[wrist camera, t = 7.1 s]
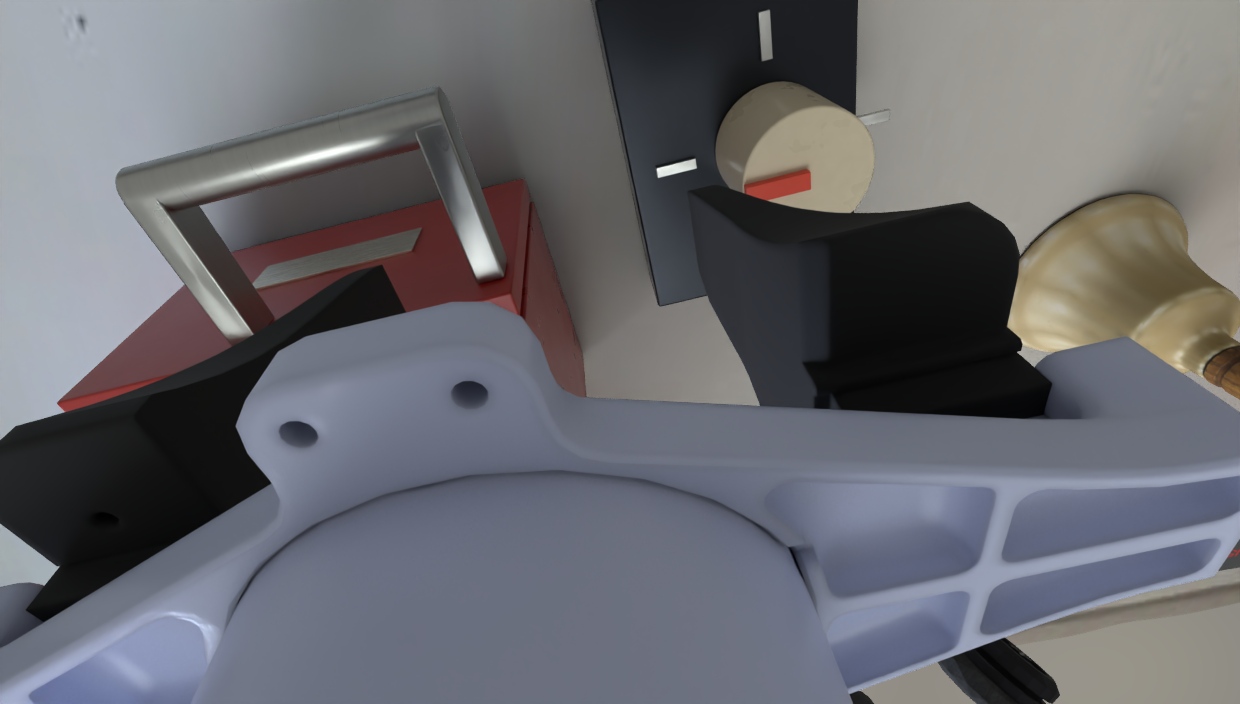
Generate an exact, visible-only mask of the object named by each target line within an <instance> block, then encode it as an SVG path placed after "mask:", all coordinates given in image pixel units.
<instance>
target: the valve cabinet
mask: <svg viewBox="0 0 1240 704" xmlns="http://www.w3.org/2000/svg"><path fill="white" fill-rule="evenodd" d="M520 316H521V317H522V318H523V319H524V321H525V322H526V323H527V325H528V326H529V328H530V329H531V330H532V332H533V333H534V334H535V336H536V337H537V338H538V340H539V341H540V343H541V346H542V348H543V351H544V354H545V357H546V360H547V362H548V365H549V368H550V371H551V373H552V375H553V376H554V378H555V380H556V382H557V384H558V385H559V386H560V387H561V388H562V389H563V390H565V391H567V392H569V393H571V394H573V395H576V396H578V397H586V386H585V373H584V361H583V355H582V352H581V349H580V346H579V343H578V339H577V336H576V333H575V330H574V327H573V324H572V321H571V318H570V314H569V311H568V308H567V305H566V302H565V299H564V296H563V293H562V289H561V286H560V283H559V280H558V277H557V274H556V271H555V268H554V264H553V261H552V258H551V255H550V252H549V249H548V246H547V243H546V239H545V236H544V233H543V230H542V227H541V224H540V221H539V218H538V215H537V211H536V208H535V205H534V203H533V202H530V204H529V216H528V227H527V239H526V251H525V262H524V274H523V285H522V297H521V309H520Z"/></svg>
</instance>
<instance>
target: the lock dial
mask: <svg viewBox="0 0 1240 704" xmlns="http://www.w3.org/2000/svg"><path fill="white" fill-rule="evenodd" d="M715 153H716V162H717V167H718V169H719V172H720V174H721V176H722V178H723V180H724V181H725V183H726V184H727V185H728V187H729V188H730V189H733V190H736V191H739V192H742V193H745V194H748V195H751V196H754V197H757V198H760V199H763V200H767V201H770V202H774V203H778V204H782V205H787V206H791V207H796V208H801V209H808V210H816V211H824V212H836V213H851V212H852V211H853V210H854V209H855V208H856V207H857V205H858V204H859V203H860V201H861V200H862V198H863V196H864V195H865V193H866V191H867V189H868V187H869V184H870V181H871V179H872V175H873V170H874V162H875V154H874V146H873V141H872V139H871V136H870V133H869V131H868V130H867V128H866V126H865V125H864V124H863V122H862V121H861V120H860V119H859V118H858V117H857V116H855V115H854V114H852V113H851V112H849V111H847V110H846V109H844V108H842V107H840V106H839V105H837V104H835V103H833V102H831V101H830V100H828V99H826V98H824V97H822V96H821V95H819V94H817V93H815V92H813V91H812V90H810V89H808V88H806V87H804V86H802V85H800V84H796V83H793V82H784V81H783V82H772V83H768V84H765V85H762V86H759V87H757V88H755V89H753V90H751V91H750V92H748V93H747V94H745V95H744V96H743V97H742V98H740V99H739V100H738V101H737V102H736V103H735V104H734V105H733V106H732V108H731V109H730V110H729V112H728V113H727V115H726V116H725V118H724V120H723V122H722V124H721V126H720V129H719V132H718V135H717V140H716V149H715Z"/></svg>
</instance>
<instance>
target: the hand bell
mask: <svg viewBox="0 0 1240 704" xmlns="http://www.w3.org/2000/svg"><path fill="white" fill-rule="evenodd" d="M1187 250H1188V232H1187V229H1186V226H1185V223H1184V221H1183V219H1182V217H1181V215H1180V214H1179V212H1178V211H1177V209H1176V208H1175V207H1174V206H1172V205H1171V204H1170V203H1168V202H1167V201H1165V200H1163V199H1161V198H1158V197H1156V196H1151V195H1143V194H1126V195H1120V196H1114V197H1109V198H1106V199H1103V200H1099V201H1097V202H1094V203H1092V204H1090V205H1087V206H1085V207H1083V208H1081V209H1079V210H1077V211H1075V212H1074V213H1072V214H1070V215H1069V216H1067V217H1066V218H1064V219H1062V220H1061V221H1059V222H1058V223H1057V224H1055V225H1054V226H1052V227H1051V228H1050V229H1048V230H1047V231H1046V232H1045V233H1044V234H1043V235H1041V236H1040V237H1039V238H1038V239H1037V240H1036V241H1035V242H1034V243H1033V244H1032V245H1031V246H1030V247H1029V249H1028V250H1027V251H1026V252H1025V254H1024V255H1023V256H1022V257H1021V259H1020V260H1019V274H1018V279H1017V283H1016V288H1015V292H1014V297H1013V302H1012V306H1011V311H1010V315H1009V320H1008V325H1007V327H1008V328H1009V329H1010V330H1011V331H1013V332H1014V333H1015V334H1016V335H1017V336H1019V337H1020V338H1021V341H1022V345H1024V346H1026V347H1029V348H1032V349H1036V350H1041V351H1048V352H1057V351H1061V350H1066V349H1070V348H1075V347H1079V346H1084V345H1088V344H1093V343H1097V342H1102V341H1106V340H1111V339H1115V338H1119V337H1129V338H1131V339H1132V340H1134V341H1135V342H1137V343H1138V344H1140V345H1141V346H1143V347H1144V348H1146V349H1147V350H1149V351H1150V352H1152V353H1153V354H1155V355H1156V356H1157V357H1159V358H1160V359H1162V360H1163V361H1165V362H1166V363H1168V364H1169V365H1171V366H1172V367H1174V368H1175V369H1177V370H1178V371H1180V372H1181V373H1183V374H1184V373H1186V372H1189V371H1192V372H1193V373H1195V374H1197V375H1198V376H1200V377H1202V378H1205V379H1206V380H1207V381H1208V382H1210V383H1212V384H1214V385H1215V386H1218V387H1222V388H1223V389H1224V390H1225V391H1226V392H1228V393H1229V394H1231V395H1233V396H1235V397H1236V398H1238V399H1240V343H1239V342H1238V341H1236V340H1234V339H1233V336H1234V335H1235V333H1236V332H1237V330H1238V328H1239V326H1240V301H1239V299H1238V297H1237V296H1236V295H1235V294H1234V293H1233V292H1232V291H1230V290H1229V289H1227V288H1226V287H1224V286H1223V285H1221V284H1220V283H1218V282H1217V281H1215V280H1213V279H1212V278H1211V277H1210V276H1208V275H1207V274H1206V273H1205V272H1204V271H1202V270H1201V269H1200V268H1199V267H1198V266H1197V265H1196V264H1195V263H1194V262H1193V261H1192V259H1191V258H1190V257H1189V255H1188V253H1187Z"/></svg>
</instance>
